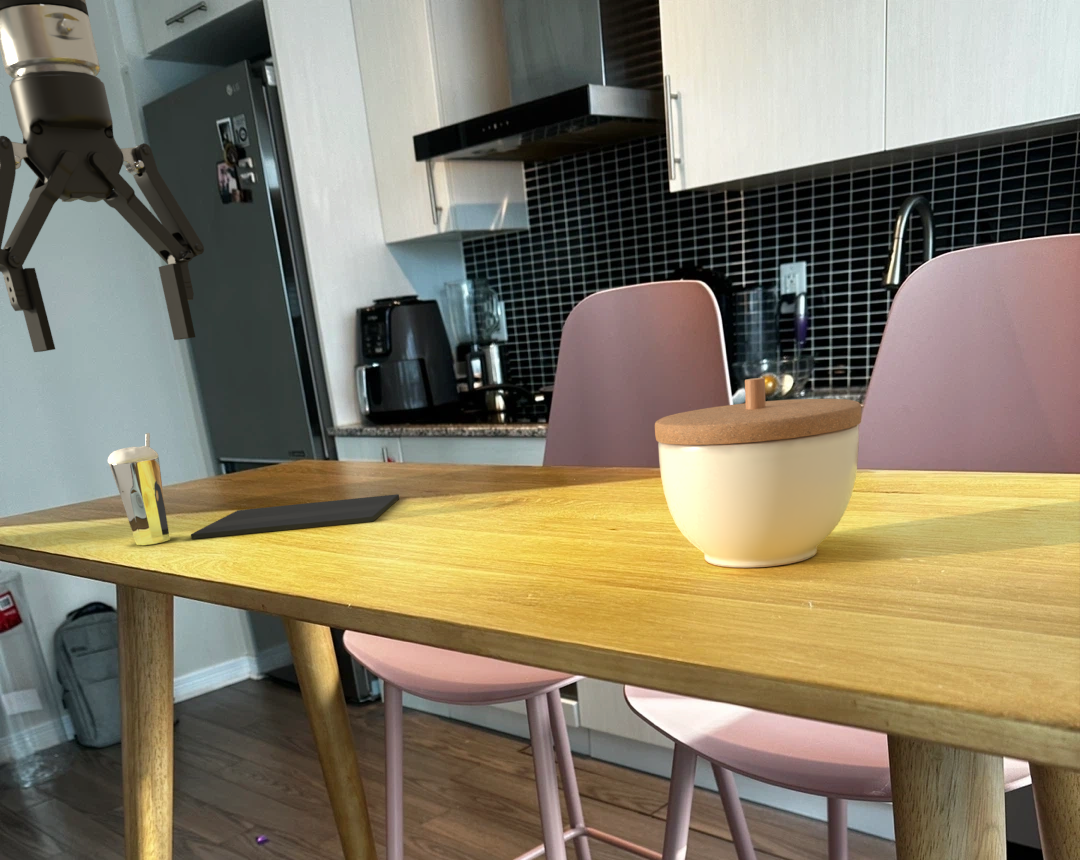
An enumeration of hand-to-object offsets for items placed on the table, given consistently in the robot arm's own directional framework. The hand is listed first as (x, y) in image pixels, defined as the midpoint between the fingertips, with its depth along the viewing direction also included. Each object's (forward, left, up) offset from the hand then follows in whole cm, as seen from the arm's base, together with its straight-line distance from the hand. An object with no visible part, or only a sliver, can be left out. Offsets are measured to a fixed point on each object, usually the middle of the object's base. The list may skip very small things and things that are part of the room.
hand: (118, 345), depth 94 cm
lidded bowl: (+53, -31, -18) cm, 64 cm away
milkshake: (-1, 0, -18) cm, 18 cm away
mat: (+12, +6, -18) cm, 23 cm away
